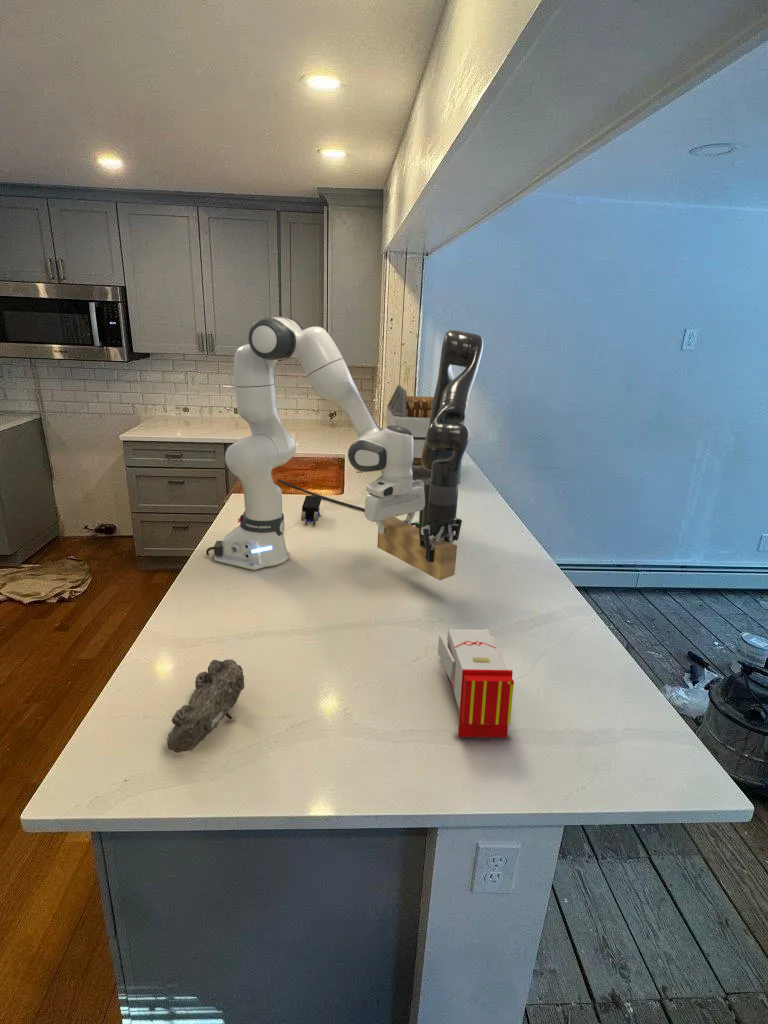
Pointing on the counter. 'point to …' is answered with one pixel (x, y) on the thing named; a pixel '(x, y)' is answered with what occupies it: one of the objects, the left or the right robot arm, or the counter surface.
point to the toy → (478, 682)
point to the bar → (417, 549)
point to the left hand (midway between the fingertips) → (395, 529)
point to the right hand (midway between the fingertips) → (438, 558)
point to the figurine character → (311, 509)
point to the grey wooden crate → (411, 418)
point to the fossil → (206, 705)
